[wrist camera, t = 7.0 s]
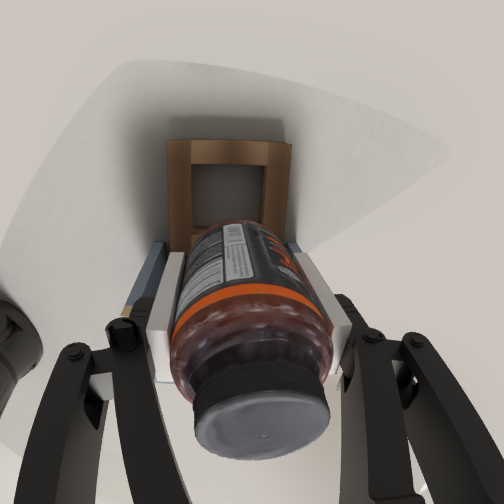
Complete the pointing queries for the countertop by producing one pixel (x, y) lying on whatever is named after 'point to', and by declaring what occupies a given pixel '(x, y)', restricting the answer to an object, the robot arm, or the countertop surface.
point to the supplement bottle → (249, 345)
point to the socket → (225, 152)
